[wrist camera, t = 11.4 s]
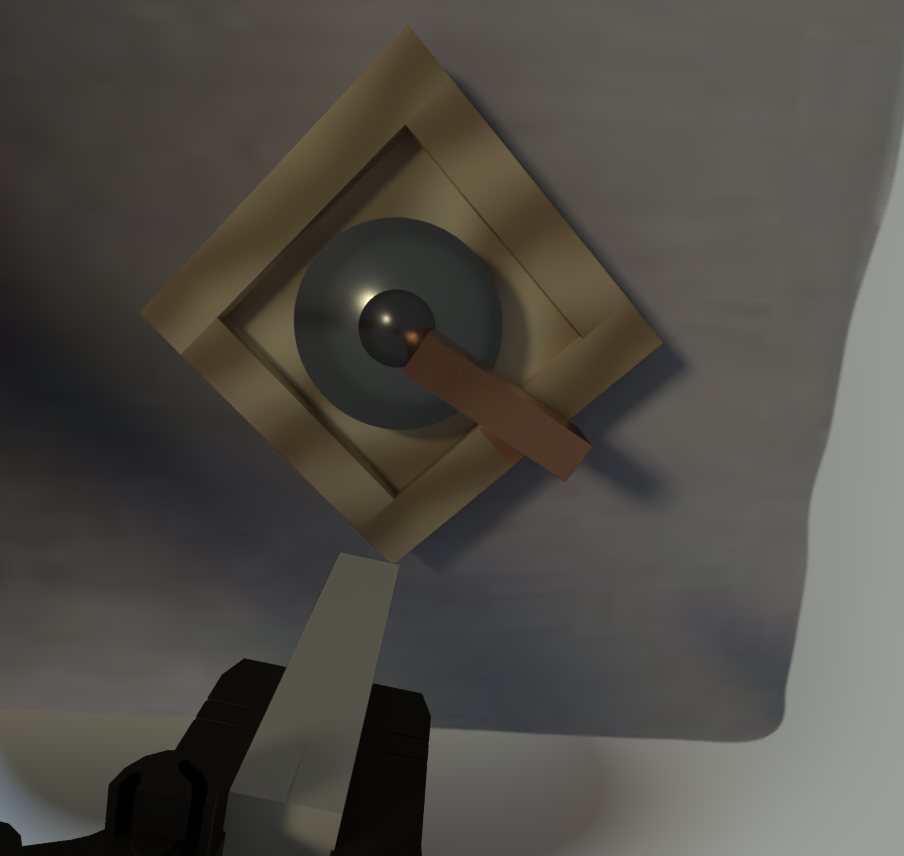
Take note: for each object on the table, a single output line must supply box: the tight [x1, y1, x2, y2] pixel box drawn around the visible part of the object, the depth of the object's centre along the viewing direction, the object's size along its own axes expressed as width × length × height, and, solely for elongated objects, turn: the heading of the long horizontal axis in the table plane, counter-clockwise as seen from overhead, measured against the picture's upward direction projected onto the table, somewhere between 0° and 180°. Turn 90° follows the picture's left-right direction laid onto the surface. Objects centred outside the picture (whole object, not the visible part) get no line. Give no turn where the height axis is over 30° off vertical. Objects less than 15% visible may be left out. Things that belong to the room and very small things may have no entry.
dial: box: [294, 217, 593, 482], centre depth 28 cm, size 16×11×5 cm, turn 56°
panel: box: [139, 25, 663, 564], centre depth 30 cm, size 20×20×3 cm
